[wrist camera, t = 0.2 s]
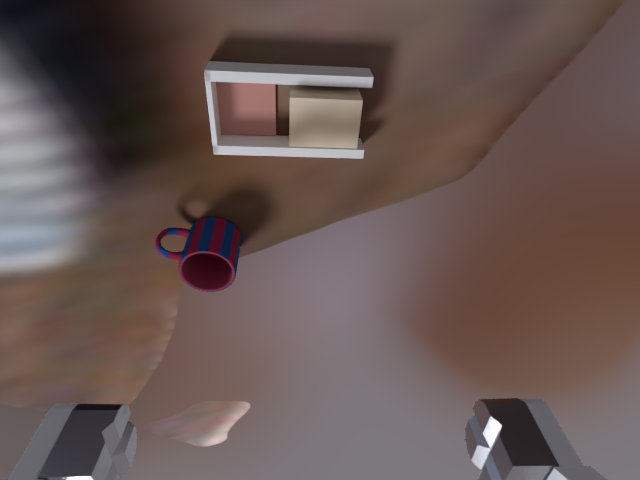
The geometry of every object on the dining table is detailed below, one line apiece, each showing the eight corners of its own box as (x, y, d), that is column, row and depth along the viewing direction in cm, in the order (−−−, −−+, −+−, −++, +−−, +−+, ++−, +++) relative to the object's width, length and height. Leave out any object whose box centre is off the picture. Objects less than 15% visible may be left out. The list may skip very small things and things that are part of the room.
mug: (226, 263, 57) (219, 299, 52) (157, 231, 54) (141, 266, 48) (250, 231, 54) (245, 266, 49) (178, 195, 50) (164, 228, 45)
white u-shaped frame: (209, 61, 41) (203, 70, 38) (369, 68, 42) (373, 77, 40) (217, 141, 46) (213, 154, 44) (359, 146, 47) (362, 158, 45)
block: (290, 82, 43) (289, 97, 39) (357, 85, 43) (363, 100, 40) (289, 128, 46) (289, 146, 42) (352, 130, 46) (356, 148, 43)
